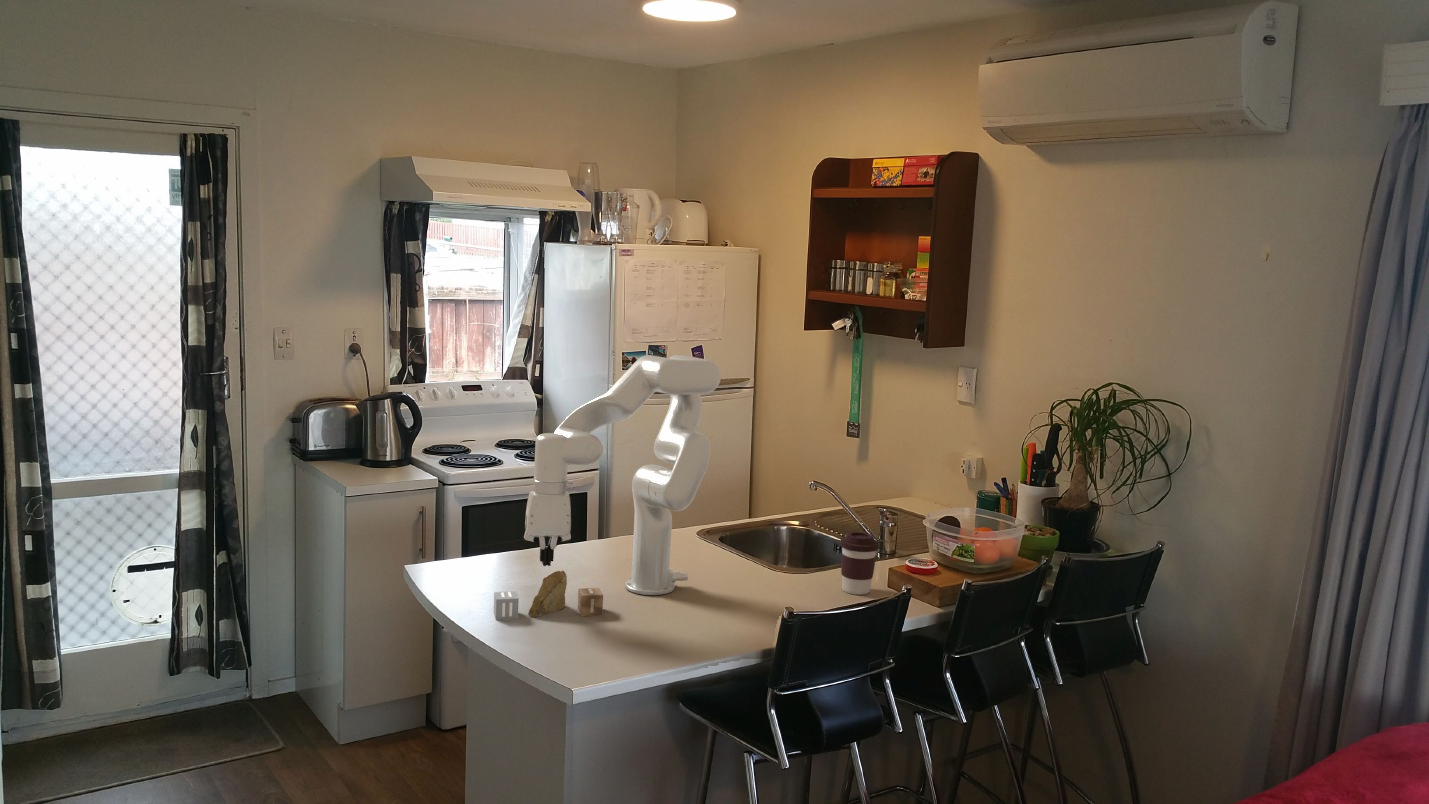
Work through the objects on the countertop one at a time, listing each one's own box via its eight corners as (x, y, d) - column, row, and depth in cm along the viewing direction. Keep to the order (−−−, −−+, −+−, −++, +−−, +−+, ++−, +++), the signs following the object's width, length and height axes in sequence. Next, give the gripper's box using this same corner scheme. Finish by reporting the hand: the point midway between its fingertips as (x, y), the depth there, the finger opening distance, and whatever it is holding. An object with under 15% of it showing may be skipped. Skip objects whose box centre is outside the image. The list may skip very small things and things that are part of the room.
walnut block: (598, 608, 247) (599, 587, 246) (602, 615, 242) (603, 594, 241) (577, 608, 246) (578, 588, 245) (581, 616, 241) (582, 595, 240)
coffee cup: (882, 592, 271) (887, 536, 268) (860, 599, 263) (864, 542, 261) (851, 582, 277) (855, 527, 275) (829, 589, 270) (833, 533, 268)
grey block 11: (515, 611, 241) (516, 590, 241) (518, 619, 236) (518, 598, 236) (493, 612, 240) (494, 591, 239) (495, 620, 235) (496, 599, 234)
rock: (533, 613, 234) (575, 602, 239) (523, 578, 237) (565, 568, 242) (525, 627, 243) (565, 616, 248) (515, 593, 246) (555, 583, 251)
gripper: (579, 483, 244) (575, 559, 247) (515, 483, 240) (512, 560, 242) (585, 491, 237) (580, 568, 240) (518, 490, 233) (515, 570, 235)
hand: (546, 564), depth 241 cm, fingers closed
